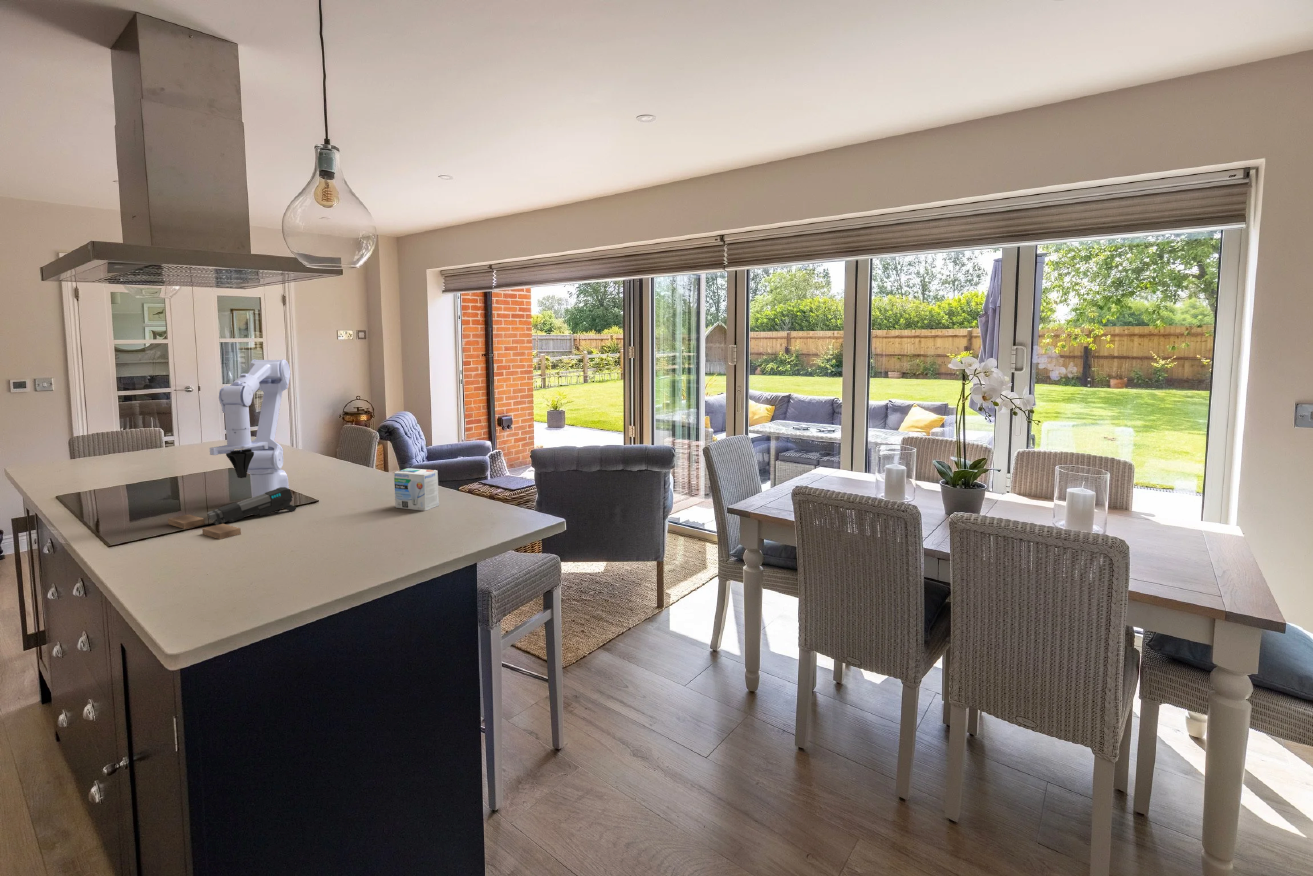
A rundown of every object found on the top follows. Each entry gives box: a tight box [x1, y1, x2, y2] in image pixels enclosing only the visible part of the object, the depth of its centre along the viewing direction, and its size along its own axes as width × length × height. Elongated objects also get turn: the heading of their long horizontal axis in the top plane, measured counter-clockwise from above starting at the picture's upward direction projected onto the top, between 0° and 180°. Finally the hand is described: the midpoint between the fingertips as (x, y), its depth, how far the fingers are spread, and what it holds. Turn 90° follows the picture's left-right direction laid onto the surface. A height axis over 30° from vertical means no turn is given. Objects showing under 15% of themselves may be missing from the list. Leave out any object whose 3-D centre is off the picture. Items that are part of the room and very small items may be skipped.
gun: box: [206, 487, 297, 525], centre depth 184 cm, size 4×20×10 cm, turn 137°
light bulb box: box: [393, 467, 440, 512], centre depth 196 cm, size 11×7×11 cm, turn 73°
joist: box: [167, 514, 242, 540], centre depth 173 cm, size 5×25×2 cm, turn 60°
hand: (241, 477), depth 186 cm, fingers closed
